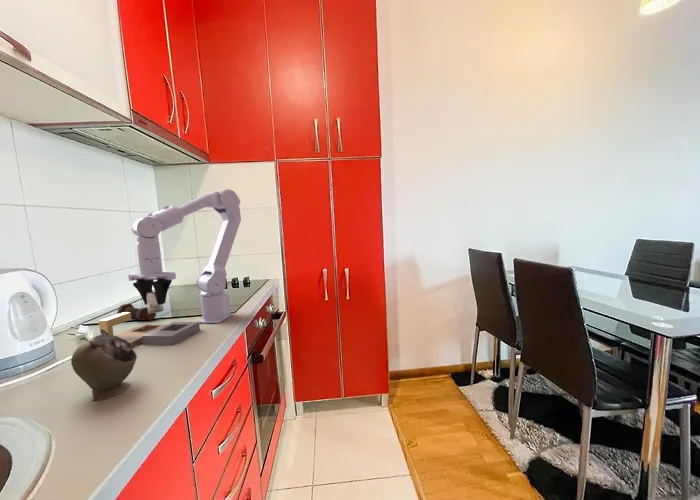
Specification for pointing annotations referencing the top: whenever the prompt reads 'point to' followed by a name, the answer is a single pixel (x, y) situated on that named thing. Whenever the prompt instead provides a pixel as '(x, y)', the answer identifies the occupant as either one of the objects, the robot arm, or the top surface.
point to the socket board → (137, 333)
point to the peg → (153, 302)
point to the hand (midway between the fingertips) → (155, 303)
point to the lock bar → (113, 322)
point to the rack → (171, 333)
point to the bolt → (137, 312)
